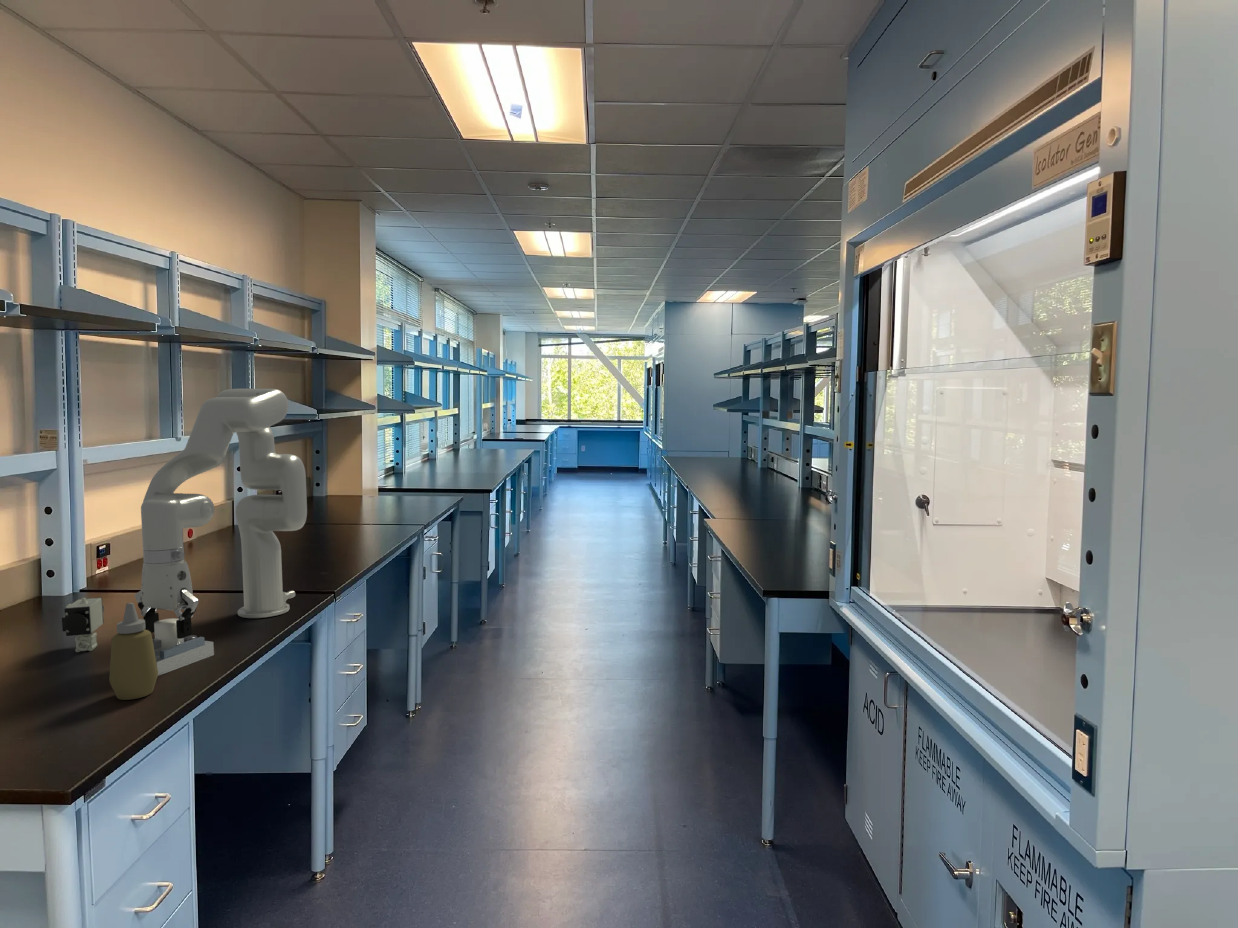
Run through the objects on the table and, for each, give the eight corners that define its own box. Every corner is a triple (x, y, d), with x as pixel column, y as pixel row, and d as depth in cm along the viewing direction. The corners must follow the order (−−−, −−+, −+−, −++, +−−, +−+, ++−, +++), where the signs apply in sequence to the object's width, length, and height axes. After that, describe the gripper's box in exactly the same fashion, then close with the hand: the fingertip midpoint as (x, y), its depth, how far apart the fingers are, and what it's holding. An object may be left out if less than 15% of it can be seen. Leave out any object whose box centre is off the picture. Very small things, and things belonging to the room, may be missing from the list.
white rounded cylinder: (170, 644, 170) (169, 617, 170) (187, 646, 169) (186, 619, 168) (143, 653, 164) (141, 625, 164) (160, 655, 163) (159, 628, 162)
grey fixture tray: (180, 650, 176) (179, 630, 175) (213, 654, 172) (212, 634, 172) (122, 670, 163) (121, 649, 162) (157, 676, 159) (156, 654, 159)
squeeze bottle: (167, 686, 153) (163, 597, 152) (144, 702, 145) (139, 609, 144) (126, 687, 153) (121, 598, 152) (100, 703, 145) (94, 609, 143)
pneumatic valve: (106, 640, 183) (103, 591, 182) (89, 656, 172) (86, 603, 170) (79, 643, 181) (76, 592, 180) (60, 659, 170) (57, 605, 169)
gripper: (209, 555, 166) (213, 633, 168) (150, 550, 172) (154, 625, 173) (179, 562, 159) (183, 644, 161) (118, 556, 165) (122, 635, 166)
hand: (168, 634), depth 167 cm, fingers open, 9 cm apart
